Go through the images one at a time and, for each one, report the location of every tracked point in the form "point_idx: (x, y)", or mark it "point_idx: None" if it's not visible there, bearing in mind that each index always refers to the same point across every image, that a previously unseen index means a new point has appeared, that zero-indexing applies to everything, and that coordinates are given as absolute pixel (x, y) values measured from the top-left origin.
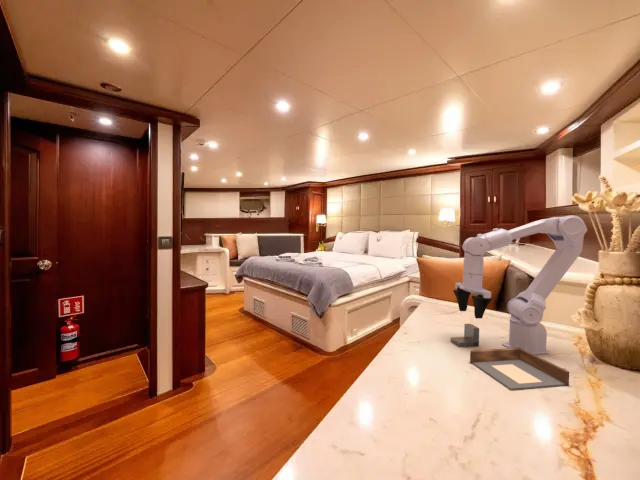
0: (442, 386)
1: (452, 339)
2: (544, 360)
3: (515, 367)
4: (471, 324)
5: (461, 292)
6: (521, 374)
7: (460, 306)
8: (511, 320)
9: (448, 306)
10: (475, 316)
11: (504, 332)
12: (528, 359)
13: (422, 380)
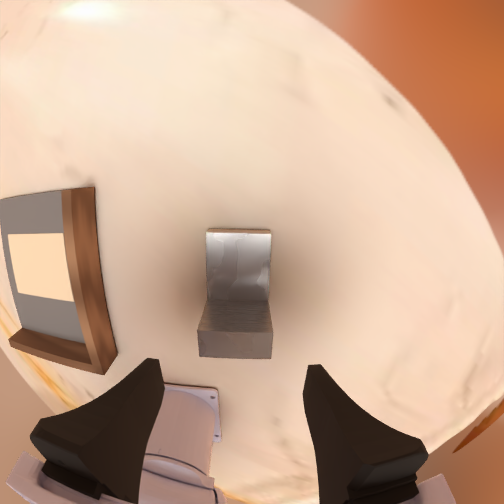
0: (37, 60)
1: (256, 232)
2: (41, 354)
3: (59, 293)
4: (256, 357)
5: (344, 484)
6: (33, 275)
7: (317, 385)
8: (168, 460)
9: (488, 392)
10: (148, 362)
11: (305, 441)
12: (76, 349)
13: (65, 26)
